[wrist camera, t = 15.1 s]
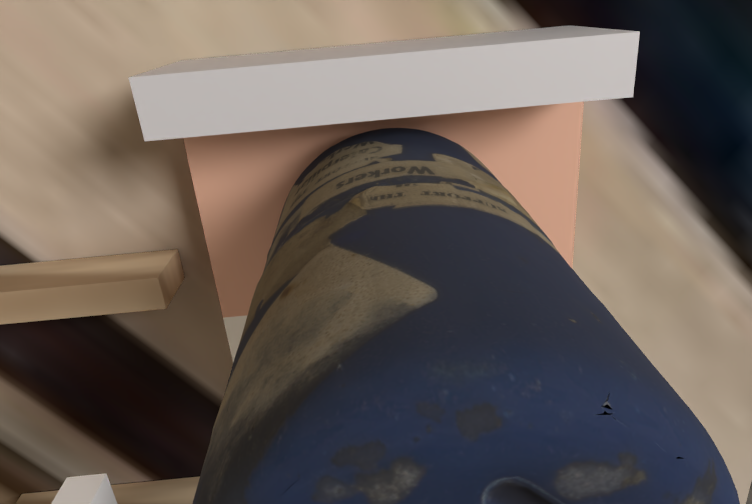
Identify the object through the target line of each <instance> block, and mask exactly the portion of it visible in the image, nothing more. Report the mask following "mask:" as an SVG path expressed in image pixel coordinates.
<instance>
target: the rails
mask: <svg viewBox="0 0 752 504" xmlns="http://www.w3.org/2000/svg"><path fill="white" fill-rule="evenodd" d="M184 278H185V277H184V273H183V269H182V265H181V260H180V256H179V252H178V249H174V250H164V251H153V252H142V253H132V254H121V255H110V256H99V257H89V258H78V259H67V260H56V261H46V262H35V263H24V264H14V265H3V266H0V324H11V323H22V322H32V321H43V320H53V319H64V318H75V317H85V316H96V315H106V314H117V313H128V312H138V311H149V310H159V309H166V308H167V307H168V305H169V303H170V302H171V300H172V298H173V297H174V295H175V293H176V292H177V290H178V288H179V287H180V285H181V283H182V282H183V280H184ZM199 478H200V476H199V477H189V478H179V479H169V480H158V481H148V482H138V483H128V484H118V485H111V487H112V490H113V493H114V496H115V498H116V501H117V504H192V503H193V500H194V496H195V493H196V489H197V485H198V482H199ZM58 491H59V490H56V491H46V492H36V493H26V494H22V495H21V496H20V498H19V499H18V501H17V502H16V504H51V503H52V501H53V500H54V498H55V496H56V495H57V493H58Z"/></svg>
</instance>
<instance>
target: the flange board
mask: <svg viewBox="0 0 752 504" xmlns="http://www.w3.org/2000/svg"><path fill="white" fill-rule="evenodd" d="M639 34H640V32H639V31H627V30H615V29H604V28H592V27H580V26H560V27H548V28H537V29H526V30H515V31H504V32H492V33H481V34H470V35H459V36H448V37H436V38H425V39H414V40H403V41H392V42H381V43H369V44H358V45H347V46H336V47H325V48H313V49H302V50H291V51H280V52H269V53H258V54H246V55H235V56H224V57H213V58H202V59H190V60H181V61H178V62H174V63H171V64H168V65H165V66H162V67H159V68H156V69H153V70H150V71H147V72H144V73H141V74H138V75H134V76H131V77H129V81H130V85H131V89H132V93H133V97H134V101H135V105H136V109H137V113H138V117H139V121H140V125H141V129H142V133H143V137H144V141H154V140H165V139H176V138H183V141H184V145H185V149H186V154H187V158H188V163H189V167H190V172H191V176H192V181H193V185H194V190H195V194H196V199H197V203H198V208H199V212H200V217H201V221H202V226H203V230H204V235H205V239H206V244H207V248H208V253H209V257H210V262H211V266H212V271H213V275H214V280H215V284H216V289H217V293H218V298H219V302H220V307H221V311H222V315H223V320H224V324H225V329H226V333H227V338H228V342H229V347H230V351H231V356H232V360H233V362H234V358H235V355H236V352H237V349H238V346H239V343H240V340H241V336H242V333H243V329H244V326H245V322H246V319H247V315H248V312H249V308H250V305H251V301H252V298H253V295H254V292H255V289H256V286H257V284H258V282H259V280H260V278H261V276H262V274H263V271H264V268H265V264H266V261H267V254H268V251H269V249H270V247H271V245H272V241H273V238H274V235H275V232H276V229H277V225H278V222H279V218H280V215H281V212H282V209H283V206H284V203H285V201H286V199H287V197H288V194H289V192H290V190H291V188H292V187H293V185H294V183H295V182H296V180H297V179H298V178H299V176H300V175H301V174H302V172H303V171H304V170H305V169H306V168H307V167H308V166H309V165H310V164H311V163H312V162H313V161H314V160H315V159H316V158H317V157H318V156H319V155H320V154H322V153H323V152H324V151H326V150H327V149H329V148H330V147H332V146H334V145H335V144H337V143H339V142H341V141H343V140H345V139H347V138H349V137H351V136H354V135H357V134H361V133H364V132H367V131H372V130H377V129H384V128H410V129H418V130H423V131H427V132H431V133H434V134H437V135H440V136H442V137H445V138H447V139H449V140H451V141H453V142H455V143H457V144H459V145H461V146H463V147H464V148H465V149H467V150H468V151H469V152H471V153H472V154H473V155H474V156H475V157H476V158H478V159H479V160H480V161H481V162H482V163H483V164H484V165H485V166H486V167H487V168H488V169H489V170H490V171H491V172H492V174H493V175H494V176H495V177H496V178H497V179H498V180H499V181H500V183H501V184H502V185H503V186H504V187H505V188H506V189H507V190H508V191H509V192H510V193H511V194H512V195H513V196H514V197H515V198H516V200H517V201H518V202H519V203H520V204H521V206H522V207H523V208H524V209H525V210H526V211H527V212H528V213H529V215H530V216H531V217H532V219H533V220H534V221H535V222H536V223H537V225H538V226H539V227H540V228H541V229H542V231H543V232H544V233H545V234H546V235H547V237H548V238H549V239H550V240H551V242H552V243H553V245H554V246H555V248H556V249H557V250H558V252H559V253H560V254H561V256H562V257H563V258H564V259H565V261H566V262H567V263H568V264H569V266H570V267H571V268H572V264H573V250H574V236H575V221H576V207H577V192H578V178H579V164H580V149H581V135H582V120H583V106H584V101H594V100H605V99H616V98H627V97H633V92H634V82H635V73H636V63H637V54H638V44H639Z"/></svg>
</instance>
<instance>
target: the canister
mask: <svg viewBox="0 0 752 504" xmlns="http://www.w3.org/2000/svg"><path fill="white" fill-rule="evenodd" d="M192 504H740V503H739V498H738V494H737V490H736V488H735V485H734V483H733V480H732V478H731V475H730V473H729V471H728V469H727V466H726V464H725V462H724V460H723V458H722V456H721V454H720V453H719V451H718V449H717V447H716V446H715V444H714V442H713V440H712V439H711V437H710V436H709V434H708V433H707V431H706V429H705V428H704V427H703V425H702V424H701V423H700V421H699V420H698V419H697V418H696V416H695V415H694V414H693V412H692V411H691V410H690V408H689V407H688V406H687V405H686V404H685V403H684V401H683V400H682V399H681V398H680V397H679V395H678V394H677V393H676V392H675V391H674V389H673V388H672V387H671V386H670V385H669V383H668V382H667V381H666V380H665V379H664V378H663V376H662V375H661V374H660V373H659V372H658V370H657V369H656V368H655V367H654V366H653V365H652V363H651V362H650V361H649V360H648V359H647V357H646V356H645V355H644V354H643V352H642V351H641V350H640V349H639V348H638V346H637V345H636V344H635V343H634V342H633V340H632V339H631V338H630V337H629V335H628V334H627V333H626V332H625V331H624V329H623V328H622V327H621V326H620V325H619V323H618V322H617V321H616V320H615V318H614V317H613V316H612V315H611V313H610V312H609V311H608V310H607V309H606V307H605V306H604V305H603V304H602V303H601V302H600V301H599V300H598V298H597V297H596V296H595V295H594V294H593V293H592V292H591V291H590V290H589V288H588V287H587V286H586V285H585V284H584V282H583V281H582V280H581V279H580V278H579V277H578V275H577V274H576V273H575V272H574V270H573V269H572V268H571V267H570V266H569V264H568V263H567V262H566V261H565V259H564V258H563V257H562V256H561V254H560V253H559V252H558V250H557V249H556V248H555V246H554V245H553V243H552V242H551V240H550V239H549V238H548V237H547V235H546V234H545V233H544V232H543V231H542V229H541V228H540V227H539V226H538V225H537V223H536V222H535V221H534V220H533V219H532V217H531V216H530V215H529V213H528V212H527V211H526V210H525V209H524V208H523V207H522V206H521V204H520V203H519V202H518V201H517V200H516V198H515V197H514V196H513V195H512V194H511V193H510V192H509V191H508V190H507V189H506V188H505V187H504V186H503V185H502V184H501V183H500V181H499V180H498V179H497V178H496V177H495V176H494V175H493V174H492V172H491V171H490V170H489V169H488V168H487V167H486V166H485V165H484V164H483V163H482V162H481V161H480V160H479V159H478V158H476V157H475V156H474V155H473V154H472V153H471V152H469V151H468V150H467V149H465V148H464V147H463V146H461V145H459V144H457V143H455V142H453V141H451V140H449V139H447V138H445V137H442V136H440V135H437V134H434V133H431V132H427V131H423V130H418V129H410V128H384V129H377V130H372V131H367V132H364V133H361V134H357V135H354V136H351V137H349V138H347V139H345V140H343V141H341V142H339V143H337V144H335V145H334V146H332V147H330V148H329V149H327V150H326V151H324V152H323V153H322V154H320V155H319V156H318V157H317V158H316V159H315V160H314V161H313V162H312V163H311V164H310V165H309V166H308V167H307V168H306V169H305V170H304V171H303V172H302V174H301V175H300V176H299V178H298V179H297V180H296V182H295V183H294V185H293V187H292V188H291V190H290V192H289V194H288V197H287V199H286V201H285V203H284V206H283V209H282V212H281V215H280V218H279V222H278V225H277V229H276V232H275V235H274V238H273V241H272V245H271V247H270V249H269V251H268V254H267V261H266V264H265V268H264V271H263V274H262V276H261V278H260V280H259V282H258V284H257V286H256V289H255V292H254V295H253V298H252V301H251V305H250V308H249V312H248V315H247V319H246V322H245V326H244V329H243V333H242V336H241V340H240V343H239V346H238V349H237V352H236V355H235V358H234V362H233V366H232V370H231V374H230V377H229V380H228V384H227V387H226V391H225V394H224V397H223V400H222V403H221V406H220V409H219V412H218V415H217V418H216V421H215V424H214V427H213V431H212V436H211V440H210V444H209V448H208V451H207V454H206V458H205V461H204V465H203V468H202V472H201V475H200V478H199V482H198V485H197V489H196V493H195V496H194V500H193V503H192Z"/></svg>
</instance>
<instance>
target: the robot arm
mask: <svg viewBox="0 0 752 504" xmlns="http://www.w3.org/2000/svg"><path fill="white" fill-rule="evenodd" d="M51 504H117V501H116V498H115V496H114V493H113V490H112V487H111V485H110V482H109V479H108V476H107V474H106V473H105V474H95V475H85V476H75V477H67V478H66V480H65V481H64V483H63V485H62V486H61V488H60V490H59V491H58V493H57V495H56V496H55V498H54V500H53V501H52V503H51ZM746 504H752V482H751V486H750V490H749V494H748V498H747V502H746Z"/></svg>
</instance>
